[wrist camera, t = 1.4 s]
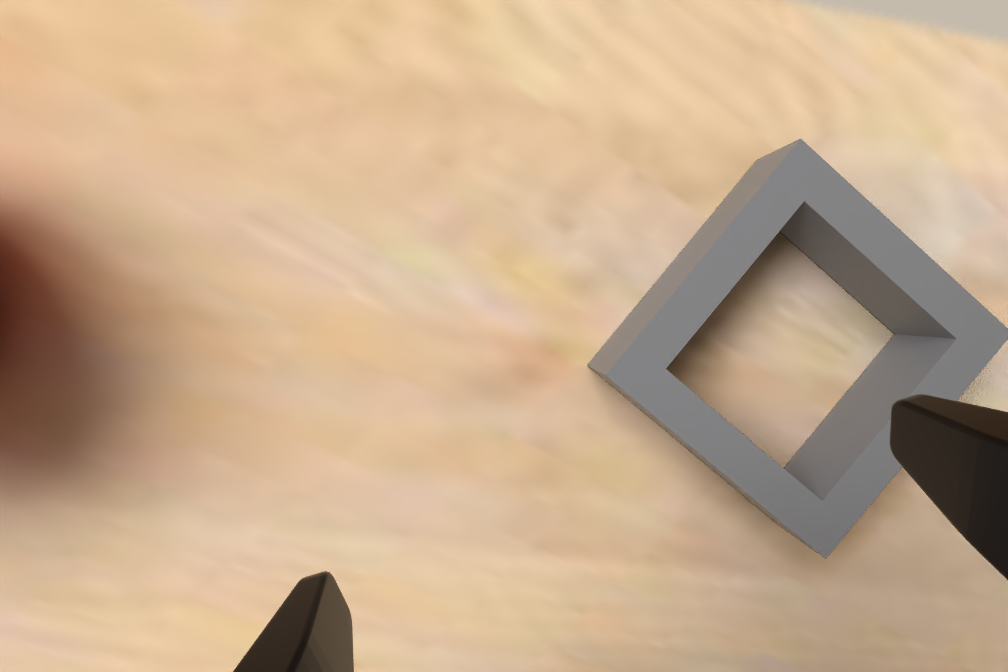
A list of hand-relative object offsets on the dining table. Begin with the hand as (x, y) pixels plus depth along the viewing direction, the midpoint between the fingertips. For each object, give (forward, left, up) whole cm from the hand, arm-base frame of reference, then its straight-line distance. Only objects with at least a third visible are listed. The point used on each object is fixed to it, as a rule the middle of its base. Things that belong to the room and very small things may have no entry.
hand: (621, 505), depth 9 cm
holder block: (-7, -7, -14) cm, 17 cm away
